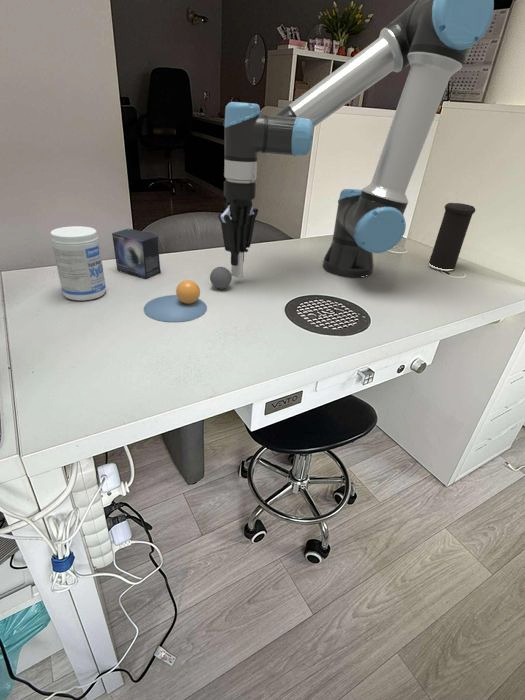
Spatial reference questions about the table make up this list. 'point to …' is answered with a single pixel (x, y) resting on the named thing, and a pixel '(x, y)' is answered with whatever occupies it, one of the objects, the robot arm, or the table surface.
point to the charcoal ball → (220, 277)
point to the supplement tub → (79, 262)
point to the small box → (136, 253)
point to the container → (451, 235)
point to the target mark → (174, 309)
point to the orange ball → (188, 292)
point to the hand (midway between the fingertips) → (236, 275)
